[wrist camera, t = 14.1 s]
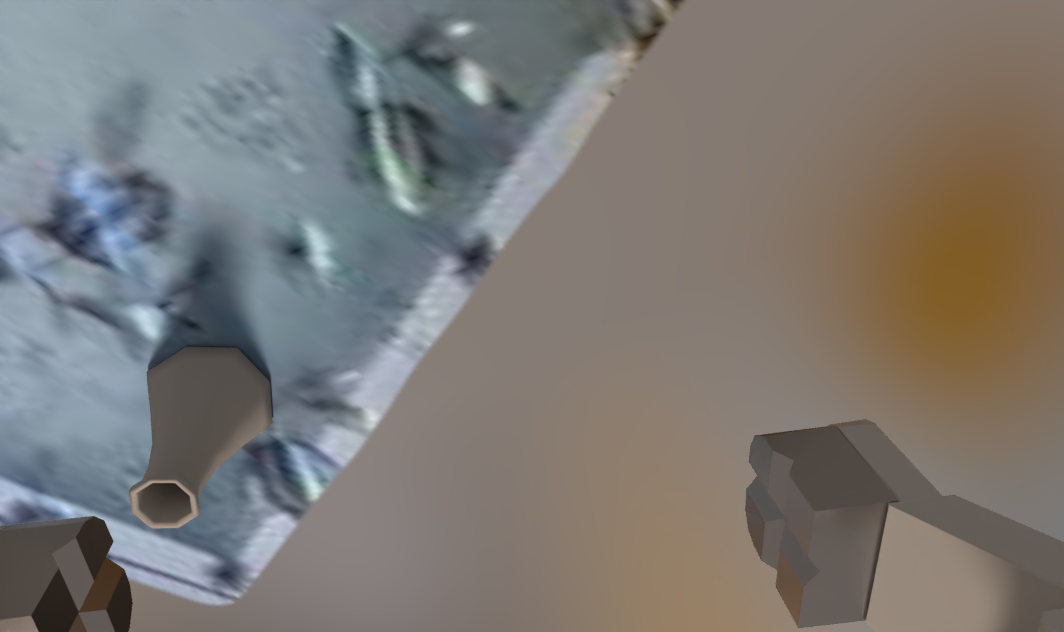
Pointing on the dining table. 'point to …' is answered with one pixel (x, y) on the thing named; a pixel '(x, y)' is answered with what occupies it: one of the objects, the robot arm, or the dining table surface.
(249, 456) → the dining table surface
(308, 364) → the dining table surface
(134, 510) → the flask
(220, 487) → the dining table surface
